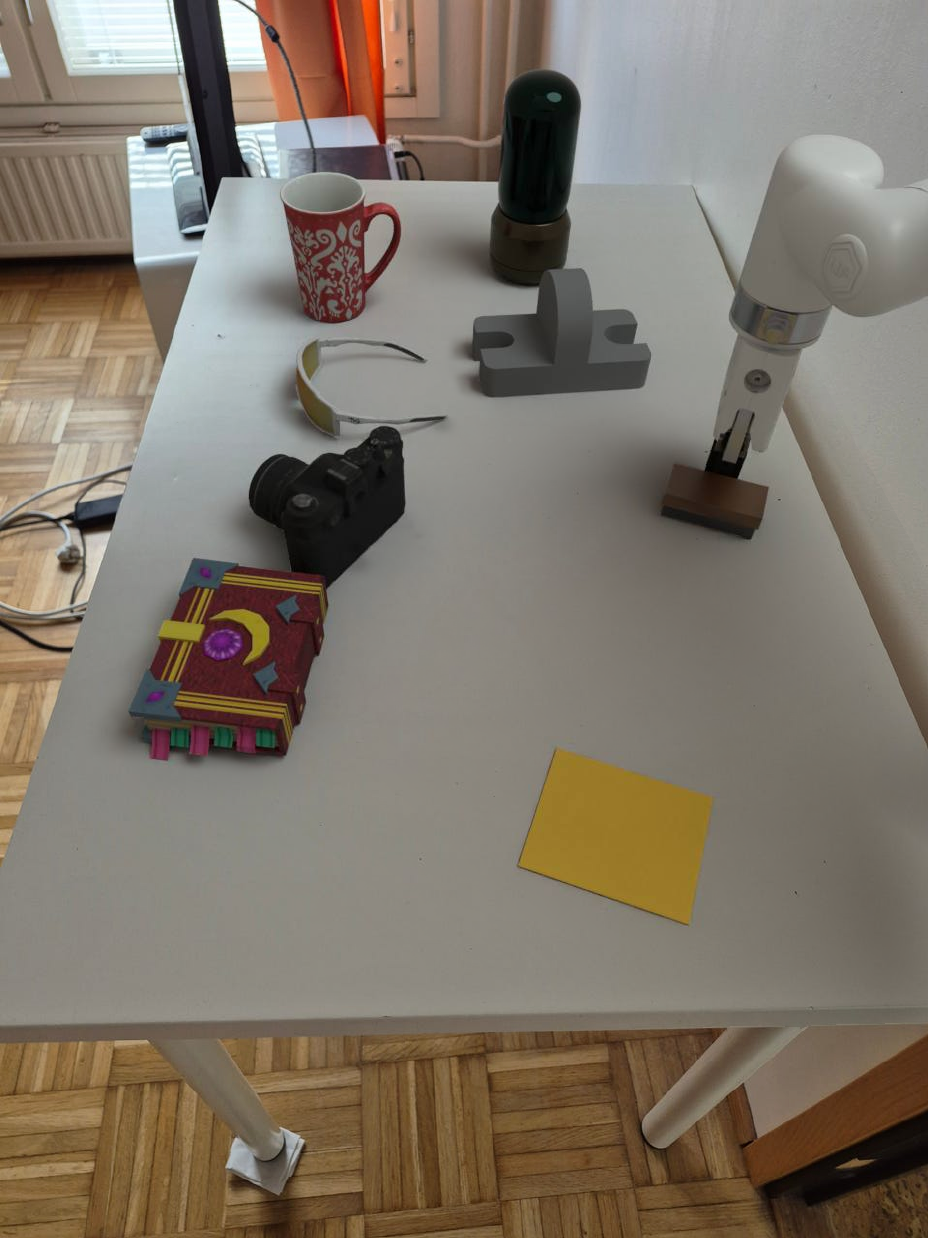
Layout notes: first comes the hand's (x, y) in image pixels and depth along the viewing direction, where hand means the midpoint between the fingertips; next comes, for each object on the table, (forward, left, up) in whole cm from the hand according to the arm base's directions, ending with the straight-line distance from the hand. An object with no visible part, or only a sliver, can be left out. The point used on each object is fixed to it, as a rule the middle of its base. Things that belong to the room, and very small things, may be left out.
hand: (719, 476), depth 86 cm
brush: (0, +4, -1) cm, 4 cm away
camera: (+33, +19, -1) cm, 38 cm away
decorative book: (+32, +37, -1) cm, 49 cm away
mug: (+46, -15, -1) cm, 48 cm away
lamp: (+29, -31, -1) cm, 42 cm away
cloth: (+1, +39, -1) cm, 39 cm away
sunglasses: (+37, 0, -1) cm, 37 cm away
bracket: (+20, -13, -2) cm, 24 cm away
